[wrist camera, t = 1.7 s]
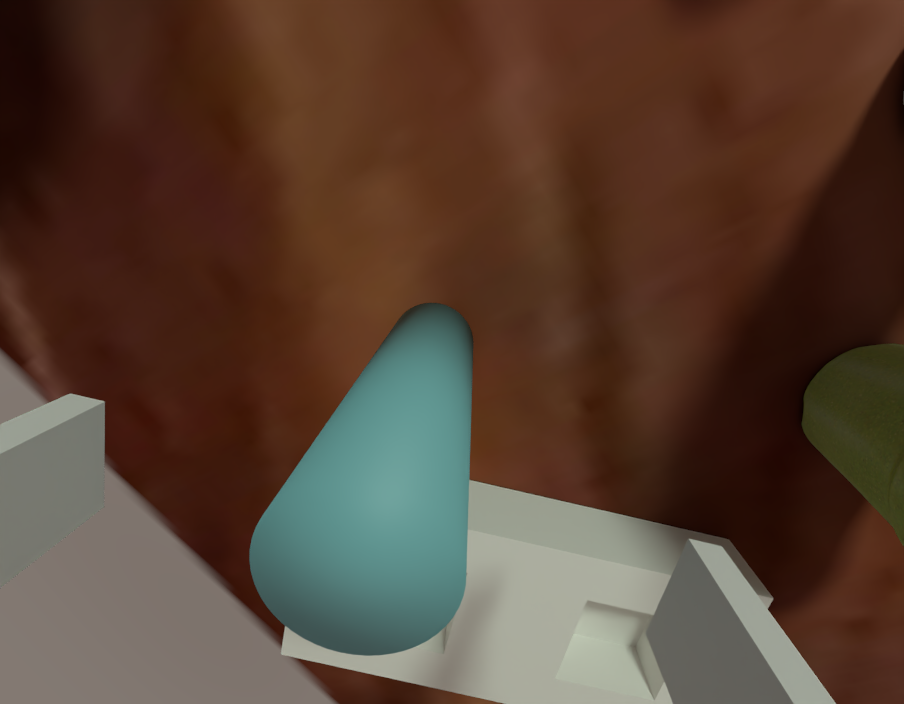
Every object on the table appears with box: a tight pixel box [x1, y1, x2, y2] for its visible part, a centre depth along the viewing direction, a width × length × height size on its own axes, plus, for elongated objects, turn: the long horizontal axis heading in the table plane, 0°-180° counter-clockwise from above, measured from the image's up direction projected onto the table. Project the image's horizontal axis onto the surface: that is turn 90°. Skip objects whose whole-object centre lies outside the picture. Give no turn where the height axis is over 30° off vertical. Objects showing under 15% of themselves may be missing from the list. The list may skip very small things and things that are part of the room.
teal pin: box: [250, 303, 473, 656], centre depth 16 cm, size 4×4×15 cm
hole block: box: [281, 480, 774, 704], centre depth 25 cm, size 10×22×4 cm, turn 77°
